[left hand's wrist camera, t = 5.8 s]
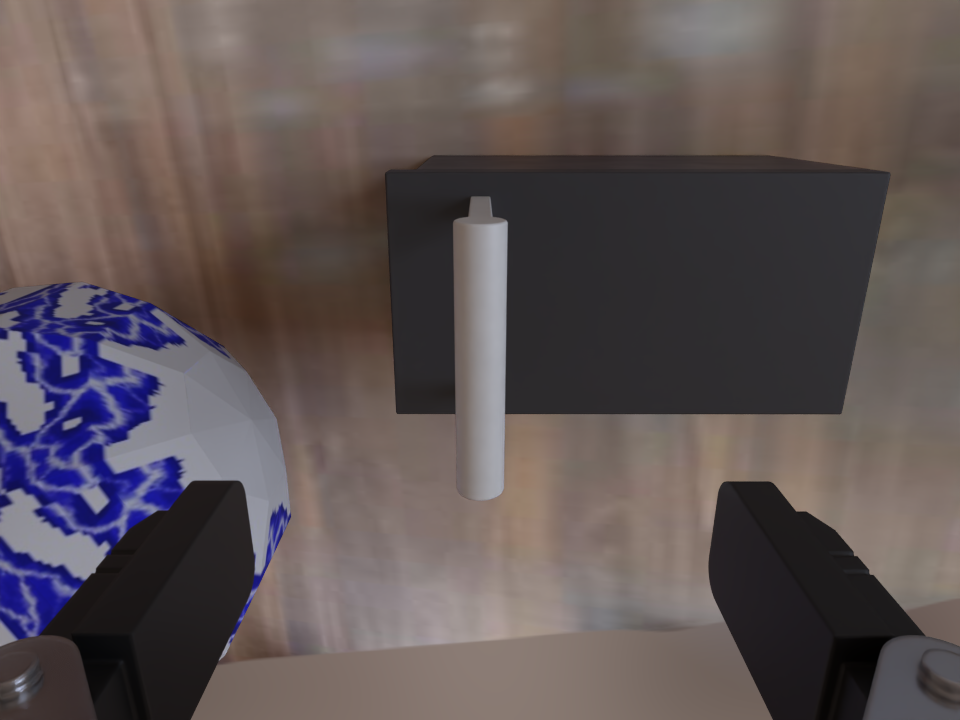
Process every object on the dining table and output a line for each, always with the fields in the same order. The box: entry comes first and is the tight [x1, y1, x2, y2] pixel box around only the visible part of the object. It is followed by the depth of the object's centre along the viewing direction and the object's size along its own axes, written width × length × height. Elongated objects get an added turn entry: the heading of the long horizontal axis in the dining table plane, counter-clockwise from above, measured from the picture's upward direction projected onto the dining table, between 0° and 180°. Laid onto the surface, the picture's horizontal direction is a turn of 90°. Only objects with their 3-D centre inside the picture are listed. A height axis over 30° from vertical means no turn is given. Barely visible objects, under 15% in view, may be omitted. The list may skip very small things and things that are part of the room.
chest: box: [416, 156, 870, 170], centre depth 31 cm, size 17×9×9 cm, turn 90°
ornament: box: [0, 282, 291, 660], centre depth 29 cm, size 20×20×20 cm
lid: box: [385, 170, 890, 501], centre depth 22 cm, size 18×9×9 cm, turn 90°
